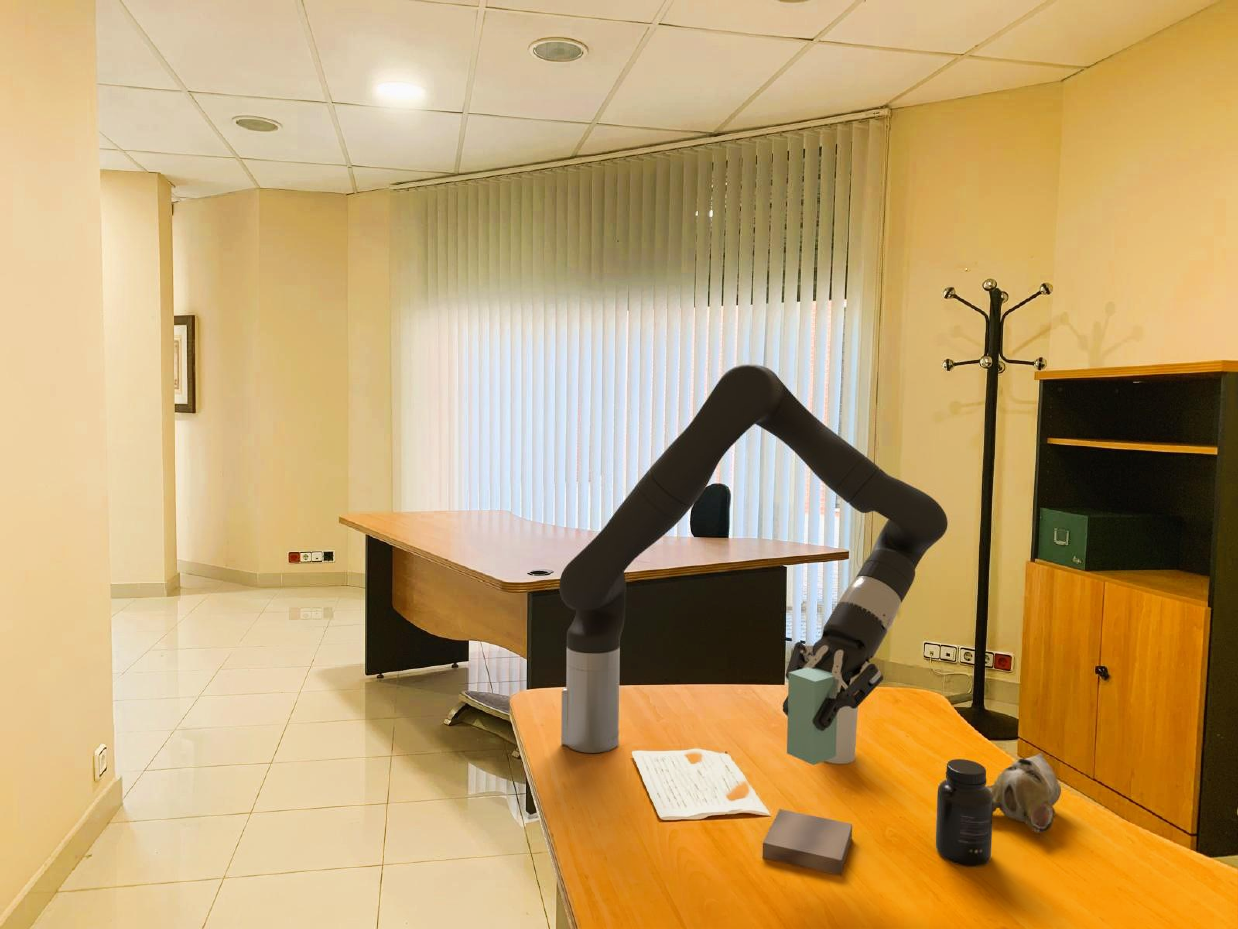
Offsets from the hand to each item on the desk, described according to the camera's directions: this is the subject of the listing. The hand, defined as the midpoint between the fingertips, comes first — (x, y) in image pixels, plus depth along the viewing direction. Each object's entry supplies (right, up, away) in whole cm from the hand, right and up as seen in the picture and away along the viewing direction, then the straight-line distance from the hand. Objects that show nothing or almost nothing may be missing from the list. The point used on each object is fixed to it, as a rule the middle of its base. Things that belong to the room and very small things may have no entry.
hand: (802, 720), depth 108 cm
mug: (+13, -16, +33) cm, 39 cm away
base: (+1, -18, +2) cm, 18 cm away
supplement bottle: (+21, -18, +1) cm, 28 cm away
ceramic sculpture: (+34, -18, +12) cm, 41 cm away
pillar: (+1, -5, +2) cm, 6 cm away
